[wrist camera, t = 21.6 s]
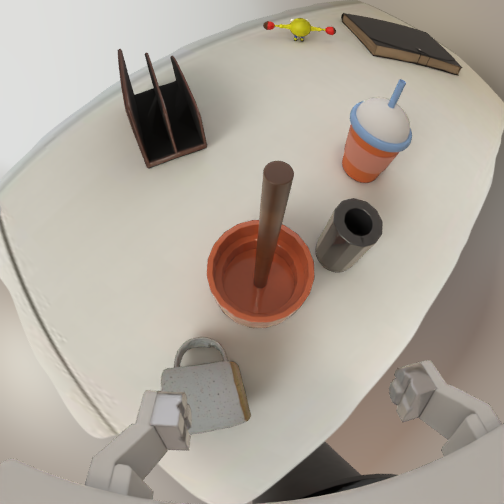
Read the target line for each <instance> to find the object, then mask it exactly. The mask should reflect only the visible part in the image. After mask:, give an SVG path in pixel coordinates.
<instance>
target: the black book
mask: <svg viewBox="0 0 504 504" xmlns="http://www.w3.org/2000/svg"><path fill="white" fill-rule="evenodd" d="M341 18H342V22H343V23H344V24H345V25H346V26H347V27H348V28H349V29H350V30H351V31H352V32H353V33H354V34H355V35H356V36H357V38H358V39H359V40H360V41H361V42H362V43H363V44H364V45H365V46H366V48H367V49H368V50H369V51H370V52H371V53H372V54H373V56H379V57H385V58H391V59H396V60H401V61H406V62H410V63H415V64H416V65H417V64H419V65H423V66H425V67H426V66H427V67H431V68H435V69H438V70H442V71H445V72H449V73H452V74H455V75H458V73H459V72H460V69H461V68H462V67H461V66H460V65H459V64H458V63H457V62H456V61H455V59H454V58H453V57H452V56H451V55H450V54H449V53H448V52H447V51H446V50H445V49H444V48H443V47H442V46H441V45H440V44H439V43H438V42H436V41H435V40H434V39H433V38H432V37H431V36H430V35H429V34H428V33H426V32H423V31H420V30H417V29H413V28H410V27H406V26H403V25H399V24H395V23H391V22H387V21H382V20H378V19H373V18H368V17H363V16H357V15H351V14H345V13H343V14H342V16H341Z"/></svg>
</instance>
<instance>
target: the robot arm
mask: <svg viewBox="0 0 504 504" xmlns="http://www.w3.org/2000/svg"><path fill="white" fill-rule="evenodd" d="M394 375H395V377H396V378H395V379H394V380H393V381H392V382H391V384H390V388H389V391H390V392H389V394H390V398H391V400H392V402H393V403H394V404H396V405H398V407H397V413H398V415H399V417H400V419H401V421H402V422H405V421H409V420H412V419H415V418H418V417H419V418H420V419H421V420H422V421H424V422H425V423H426V424H427V425H429V426H430V427H431V428H433V429H434V430H436V431H437V432H438V433H440V434H441V435H442V436H444V437H445V438H447V439H448V441H447V442H446V444H445V445H444V446H443V447H442V449H441V451H442V453H443V455H444V457H442V458H440V459H438V460H435V461H434V462H431V463H428V464H426V465H424V466H421V467H419V468H416V469H414V470H411V471H409V472H406V473H403V474H401V475H398V476H395V477H392V478H389V479H386V480H383V481H379V482H376V483H373V484H369V485H366V486H362V487H359V488H355V489H351V490H347V491H342V492H338V493H333V494H328V495H323V496H318V497H312V498H306V499H299V500H292V501H283V502H274V503H261V504H504V423H503V424H502V423H501V421H500V420H499V418H498V417H497V415H496V413H495V412H494V410H493V409H492V407H491V406H490V404H488V403H486V402H484V401H482V400H480V399H478V398H476V397H474V396H472V395H470V394H468V393H466V392H464V391H462V390H460V389H458V388H456V387H454V386H452V385H447V384H446V382H445V381H444V379H443V378H442V376H441V375H440V373H439V372H438V370H437V369H436V368H435V366H434V365H433V363H432V362H431V361H430V360H426V361H423V362H419V363H415V364H411V365H408V366H404V367H400V368H398V369H397V370H396V372H395V374H394ZM191 426H192V413H191V408H190V405H189V404H188V403H187V396H186V393H185V392H166V391H150V390H146V391H145V392H144V394H143V398H142V401H141V405H140V409H139V413H138V416H137V420H136V424H131V425H130V426H129V427H128V428H126V429H125V430H124V431H123V432H122V433H121V434H120V435H118V436H117V437H116V438H115V439H114V440H113V441H111V442H110V443H109V444H108V445H107V446H106V447H105V448H103V449H102V450H101V451H100V452H99V453H97V454H96V455H95V456H94V457H93V458H92V461H91V465H90V469H89V472H88V475H87V479H86V482H85V485H83V484H80V483H76V482H73V481H70V480H66V479H64V478H61V477H58V476H55V475H52V474H50V473H47V472H45V471H42V470H40V469H37V468H35V467H32V466H30V465H28V464H26V463H24V462H21V461H19V460H16V459H13V458H10V459H8V460H5V461H3V462H1V463H0V504H189V503H177V502H167V501H159V500H153V491H152V489H151V488H150V487H149V486H148V485H147V484H146V483H145V482H144V481H143V480H144V478H145V477H146V476H147V475H148V474H149V473H150V471H151V470H152V469H153V468H154V467H155V465H156V464H157V463H158V462H159V461H160V460H161V458H162V457H163V456H164V455H165V453H166V452H167V450H189V447H190V437H191V436H190V434H189V431H188V430H189V429H190V428H191Z"/></svg>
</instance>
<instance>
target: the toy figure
mask: <svg viewBox="0 0 504 504" xmlns="http://www.w3.org/2000/svg"><path fill="white" fill-rule="evenodd" d="M290 22H291V23H290V24H288V25H282V24H280V25H274V23H273V22H269V21H267V22H265V23H264V25H263V26H264V28H265V29H266V30H271V29H273V28H274V27H280V28H287V29H290V31H291V32H292V33H293V34H294V35H295V37H294V41H297V36H299V37H301V38H300V40H301V41H303V37H304V36H306V35H308V34H309V33H310V31H322V30H323V31H326V33H327V34H329V35H334V34H335V33H336V30H335V28H334V27H327V28H326V29H321V28H319V27H318V28H317V27H313V26H311V25H310V23H309V21H308V20H305V19H303V18H297V19H290Z"/></svg>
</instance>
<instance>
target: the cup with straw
mask: <svg viewBox="0 0 504 504" xmlns="http://www.w3.org/2000/svg"><path fill="white" fill-rule="evenodd" d="M405 84H406V82H405V81H404V80H401V79H400V80H399V82H398V84H397V86H396V88H395V90H394V93H393V95H392V97H391V99H390V100H389V99H386V98H382V97H374V98H370V99H367V100H365V101H362V102H359V103H357V104H356V105H355V106H354V107H353V108H352V110H351V113H350V122H351V125H350V129H349V133H348V136H347V140H346V144H345V153H344V156H343V160H342V164H343V168H344V170H345V172H346V173H347V174H348V175H349V176H350V177H351V178H353V179H354V180H356V181H359V182H363V183H368V182H372V181H373V180H375V179H376V178H377V176H378V175H379V174H380V173H381V172H383V171H384V170H385V169H386V168H387V167H388V165H389V164H390V163H391V162H392V161H393V159H394V158H395V157H396V156H397V155H398V153H399V152H400V151H403V150H405V149H406V148H407V147H408V146H409V145H410V143H411V139H412V132H411V128H410V123H409V119H408V117H407V115H406V113H405V112H404V110H403V109H402V108H401V107H400V106H399V105H398V104H397V101H398V99H399V97H400V95H401V93H402V91H403V88H404V86H405Z"/></svg>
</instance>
